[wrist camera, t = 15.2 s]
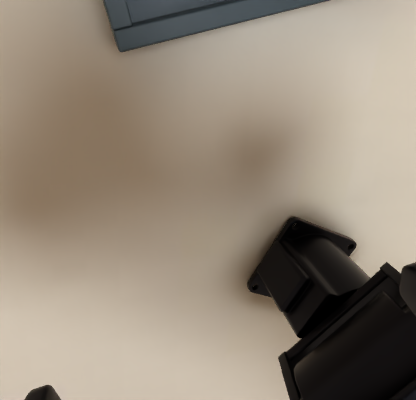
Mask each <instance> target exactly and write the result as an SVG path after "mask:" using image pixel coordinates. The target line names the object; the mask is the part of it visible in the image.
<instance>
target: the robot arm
mask: <svg viewBox="0 0 416 400" xmlns="http://www.w3.org/2000/svg"><path fill="white" fill-rule="evenodd" d="M295 223H296V225H295V226H293V225H294V224H295ZM355 248H356V242H355V241H353V240H352V239H351V238H348V237H346V236H343V235H341V234H338V233H336V232H333V231H330V230H328V229H325V228H323V227H320V226H318V225H315V224H313V223H310V222H308V221H305V220H302V219H300V218H297V217H292V218H290V219H289V220H288V221H287V223H286V224H285V226H284V227H283V229H282V230H281V232H280V234H279V235H278V237H277V238H276V240H275V241H274V243H273V244H272V246H271V247H270V249H269V251H268V252H267V254H266V255H265V257H264V258H263V260H262V261H261V263H260V264H259V266H258V267H257V269H256V271H255V272H254V274H253V275H252V277H251V278H250V280H249V281H248V283H247V287H248V289H249V290H250V292H253V293H257V294H261V295H265V296H269V297H272V298H273V300H274V301H275V303H276V305H277V306H278V308H279V310H280V311H281V312H283V314H284V315H285V317H286V319H287V320H288V322H289V324H290V325H291V327H292V329H293V330H294V332H295V334H296V335H297V337H298V338H302V339H301V340H300V341H298V342H297V343H296V344H295V345H294V346H293V347H292V348H291V349H289V350H288V351H287V352H284V353H282V354H281V355H280V356H279V357H278V359H279V362H280V366H281V369H282V374H283V377H284V381H285V384H286V388H287V391H288V395H289V398H290V400H416V262H415V263H412V264H409V265H406V266H404V267H403V269H402V272H401V273H399V272H398V271H397V270H396V269H395V268H393V267H392V266H391V265H390V264H389V263H387V262H386V263H385V264H384V265H383V266H381V267H380V269H381V270H379V271H378V272H377V273H376V274H375V275H374V276H373V277H371V278H370V277H369V276H368V275H367V274H366V273H365V272H364V271H363V270H362V269H361V268H360V267H359V266H358V265H357V264H356V263H355V262H354V261H353V260H352V259H351V258H350V257H349V256H350V255H351V253H352V252H353V251H354V249H355ZM255 284H256V285H255ZM254 285H255V286H254ZM25 400H61V399H60V397H59V396H58V394H57V393H56V391H55V390H54V388H53V387H52V386H51V385H45V386H42V387H39V388H36V389H33V390H32V391H30V392H29V394H28V395H27V396H26V398H25Z"/></svg>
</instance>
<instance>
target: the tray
mask: <svg viewBox="0 0 416 400" xmlns="http://www.w3.org/2000/svg"><path fill="white" fill-rule="evenodd" d="M325 1H329V0H103V3H104V6H105V9H106V12H107V16H108V19H109V22H110V25H111V29H112V32H113V35H114V38H115V42H116V45H117V47H118V50H119V51H120V52H125V51H129V50H133V49H137V48H141V47H145V46H149V45H153V44H157V43H161V42H165V41H169V40H173V39H177V38H181V37H185V36H189V35H193V34H197V33H201V32H205V31H209V30H213V29H217V28H221V27H225V26H229V25H233V24H237V23H241V22H245V21H249V20H253V19H257V18H261V17H265V16H269V15H273V14H277V13H281V12H285V11H289V10H293V9H297V8H301V7H305V6H309V5H313V4H317V3H321V2H325Z"/></svg>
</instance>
